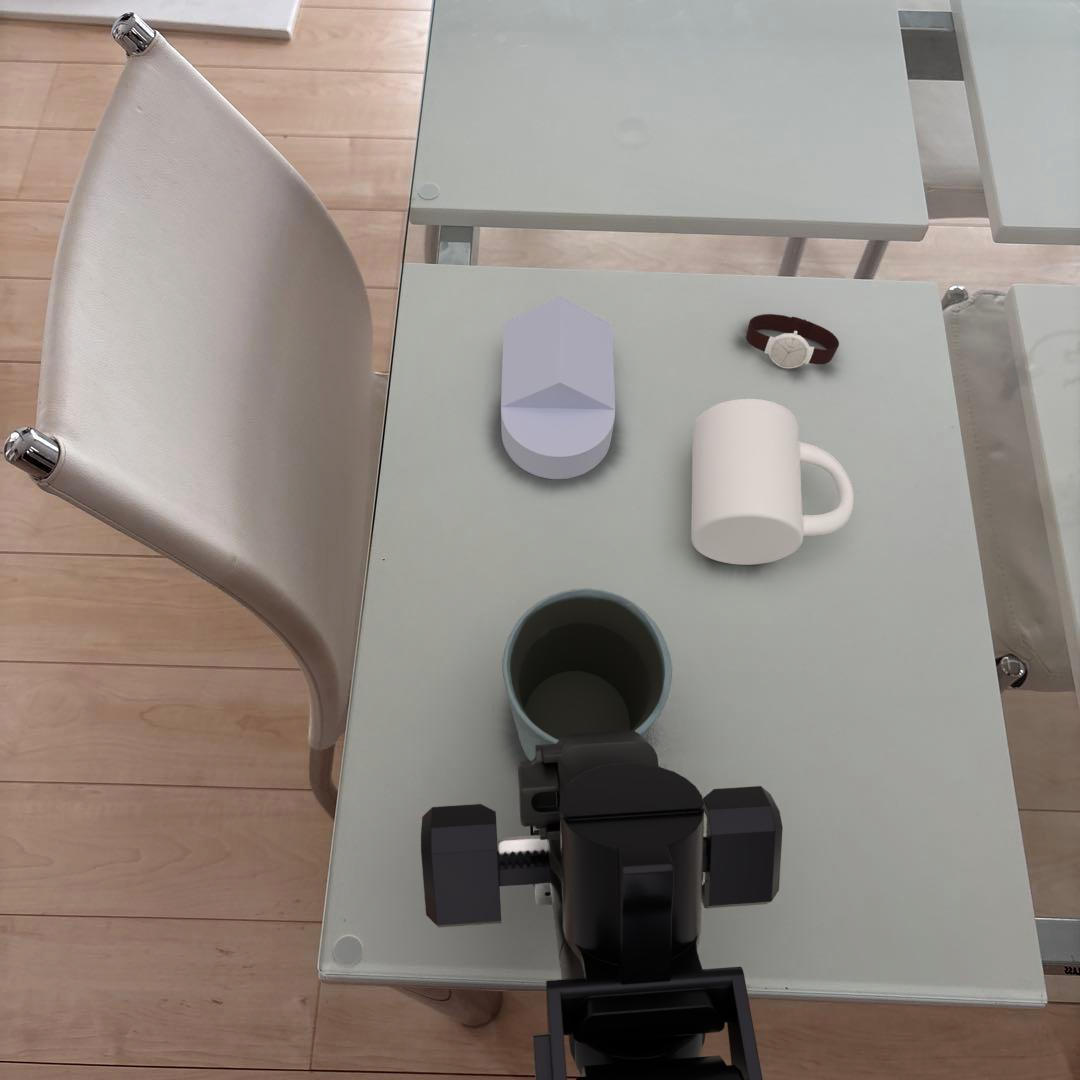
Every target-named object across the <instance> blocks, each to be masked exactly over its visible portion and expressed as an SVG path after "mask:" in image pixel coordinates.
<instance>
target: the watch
mask: <svg viewBox="0 0 1080 1080" xmlns="http://www.w3.org/2000/svg"><path fill="white" fill-rule="evenodd" d="M747 326H748V327H747V331H746V335H745V340H746V342H747V343H748V345H750V346H751V347H753V348H755V349H757V350H759V351H762V352H764V354H766V355H767V354H768V355H769V358H770V359H771V361H772V363H774V364H775V365H777V366H778V367H780V368H782V369H783V368H784V369H795V368H798V367H800V366H802V365H804V364H805V365H809V364H811V365H826V364H828V363H830V362H831V361H832V360H833V358H834V356H835V354H836V352H837V350H838V348H839V347H840V341H839V339H838V338H837V336H836V335H835V334H834V333H833V332H831V331H830V330H828V329H827V328H825V327H823V326H821V325H818V324H816V323H814V322H811V321H809V320H806V319H803V318H800V317H798V316H787V315H784V314H774V313H764V314H763V313H762V314H757V315H755V316H753V317H752V318H750V320H749V321H748V325H747ZM761 330H769V331H776V332H777V331H778V332H782V333H781V334H779V335H777V336H771V335H766V334H764V333H762V332H759V331H761ZM806 339H807V340H809V341H812V342H814V343H817V345H820V346H821V347H823V348H824V349H821V348H816V347H815V346H810V344H809V342H808V341H807V340H806Z"/></svg>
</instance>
